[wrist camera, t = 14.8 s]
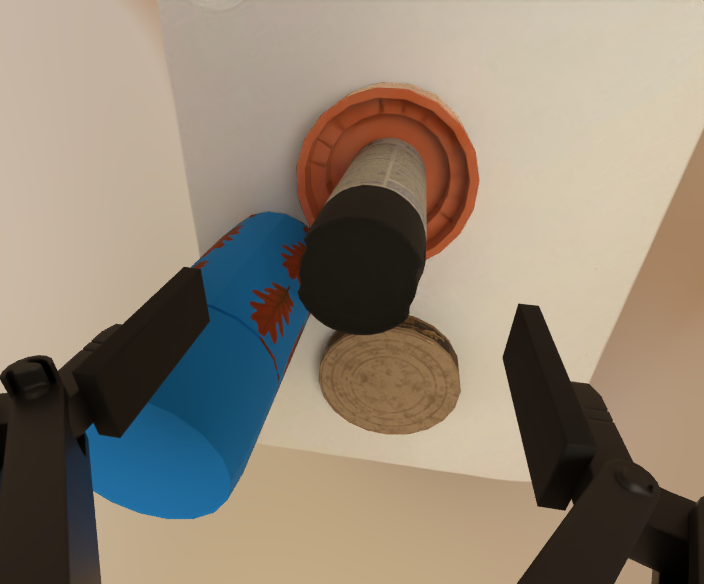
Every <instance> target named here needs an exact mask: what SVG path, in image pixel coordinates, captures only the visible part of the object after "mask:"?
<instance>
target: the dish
mask: <svg viewBox="0 0 704 584" xmlns="http://www.w3.org/2000/svg"><path fill="white" fill-rule="evenodd" d="M381 138H397V139H400V140H403V141H405V142H407V143H409V144H410V145H412V146H413V147H414V148H415V149H416V150H417V151H418V153H419V154H420V156H421V157H422V159H423V161H424V164H425V168H426V218H427V241H426V259H428V258H430V257H432V256H434V255H436V254H438V253H440V252H441V251H442V250H443V249H444V248H445V247H447V246H448V245H449V244H450V243H451V242H452V241H453V240H454V239H455V238H456V237H457V236H458V235H459V234H460V233H461V231H462V229H463V228H464V226H465V224H466V222H467V221H468V219H469V217H470V215H471V213H472V212H473V209H474V206H475V200H476V195H477V190H478V185H479V174H478V167H477V159H476V152H475V149H474V147H473V145H472V143H471V141H470V139H469V137H468V135H467V133H466V131H465V129H464V127H463V125H462V123H461V121H460V119H459V117H458V116H457V114H456V113H455V112H454V111H453V110H452V109H451V108H450V107H448V106H447V105H446V104H445V103H444V102H443V101H442V100H441V99H440V98H439V97H438V96H436V95H435V94H432V93H430V92H428V91H425V90H423V89H421V88H418V87H416V86H414V85H411V84H401V83H378V84H375V85H372V86H369V87H365V88H362V89H359V90H356V91H353V92H352V93H350V94H349V95H347V96H346V97H345V98H343V99H342V100H340V101H339V102H338V103H336V104H335V105H334V106H332V107H331V108H330V109H328V110H327V111H326V112H324V113H323V114H322V115H321V116H320V117H319V119H318V120H317V122H316V123H315V125H314V126H313V127H312V129H311V130H310V132H309V133H308V135H307V136H306V138H305V140H304V142H303V146H302V149H301V153H300V156H299V160H298V163H297V194H298V198H299V201H300V203H301V206H302V209H303V212H304V215H305V218H306V220H307V221H308V223H309V224H310V226H312V224H313V222H314V221H315V219H316V217H317V216H318V214H319V212H320V211H321V209H322V208H323V206H324V205H325V203H326V201H327V200H328V198H329V197H330V195H331V194H332V192H333V191H334V189H335V188H336V186H337V185H338V183H339V182H340V180H341V178H342V177H343V175H344V174H345V172H346V171H347V169H348V168H349V166H350V164H351V163H352V161H353V160H354V158H355V157H356V155H357V154H358V153H359V151H360V150H361V149H362V148H363V147H364V146H366V145H367V144H369V143H370V142H372V141H374V140H377V139H381Z"/></svg>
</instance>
